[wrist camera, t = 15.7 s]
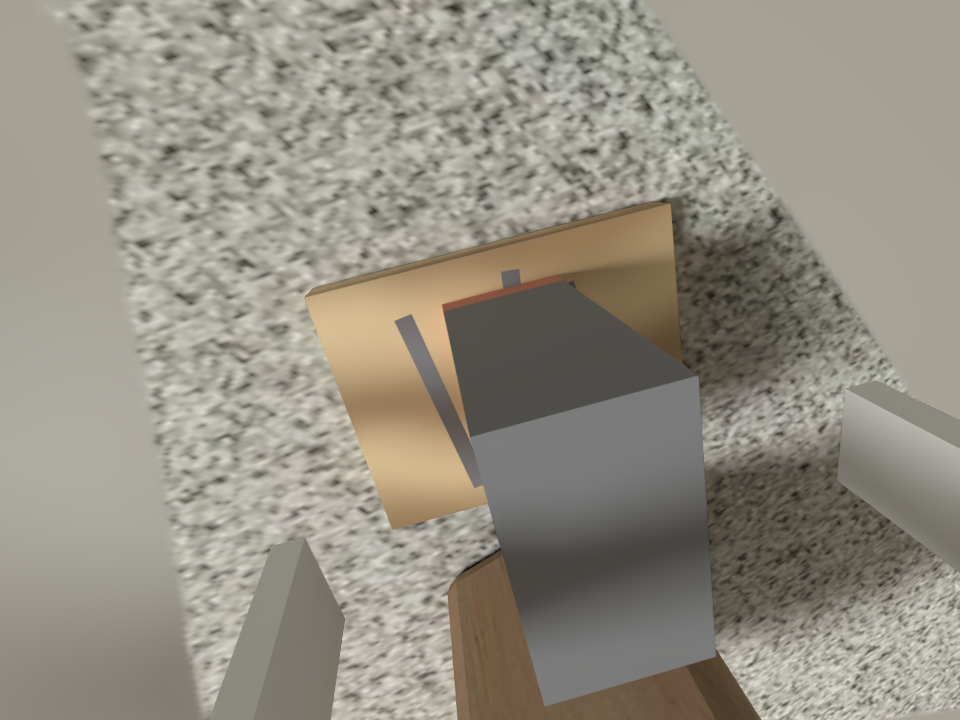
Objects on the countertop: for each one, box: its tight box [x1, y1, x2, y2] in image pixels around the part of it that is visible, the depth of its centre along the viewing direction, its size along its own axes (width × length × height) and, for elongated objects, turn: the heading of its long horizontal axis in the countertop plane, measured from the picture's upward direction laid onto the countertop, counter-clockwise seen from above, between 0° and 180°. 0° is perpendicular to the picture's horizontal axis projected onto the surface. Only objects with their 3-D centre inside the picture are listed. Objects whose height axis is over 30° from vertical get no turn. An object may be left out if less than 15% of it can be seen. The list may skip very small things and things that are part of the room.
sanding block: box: [442, 275, 716, 706], centre depth 15 cm, size 8×4×10 cm, turn 14°
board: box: [304, 202, 683, 529], centre depth 21 cm, size 11×14×2 cm
